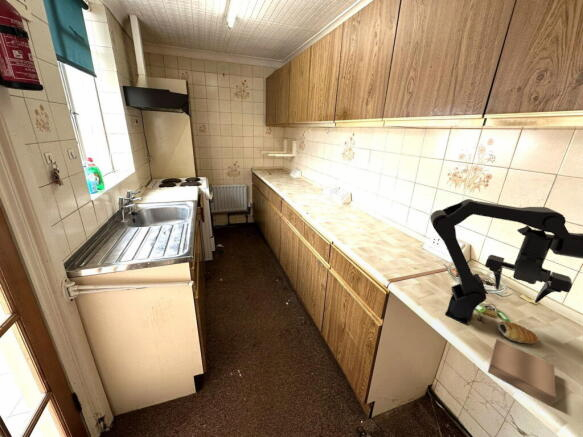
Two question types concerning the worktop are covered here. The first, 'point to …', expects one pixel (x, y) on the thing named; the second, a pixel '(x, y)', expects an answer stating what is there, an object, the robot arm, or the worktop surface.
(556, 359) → the worktop surface
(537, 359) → the walnut base
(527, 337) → the pastry
